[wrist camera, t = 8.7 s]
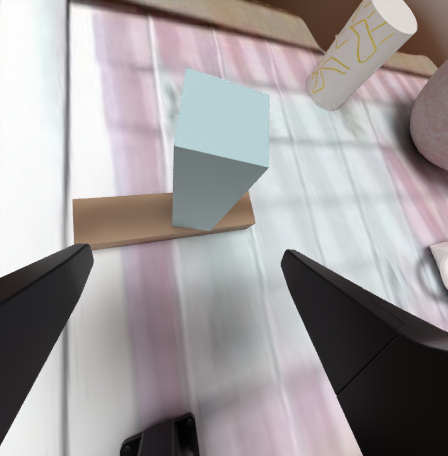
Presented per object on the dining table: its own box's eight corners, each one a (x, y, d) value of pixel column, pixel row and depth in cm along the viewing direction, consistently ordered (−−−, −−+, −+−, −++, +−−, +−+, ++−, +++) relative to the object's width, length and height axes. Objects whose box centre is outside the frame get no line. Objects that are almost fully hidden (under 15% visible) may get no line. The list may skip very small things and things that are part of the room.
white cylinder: (300, 73, 35) (361, -21, 24) (333, 76, 38) (401, -8, 26) (314, 110, 34) (385, 29, 23) (347, 110, 36) (425, 38, 25)
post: (210, 231, 20) (268, 167, 8) (172, 226, 19) (173, 145, 7) (213, 197, 21) (269, 94, 9) (177, 190, 20) (186, 67, 8)
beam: (245, 228, 25) (255, 223, 22) (88, 250, 19) (74, 246, 17) (239, 197, 26) (247, 187, 23) (86, 209, 20) (72, 199, 17)
